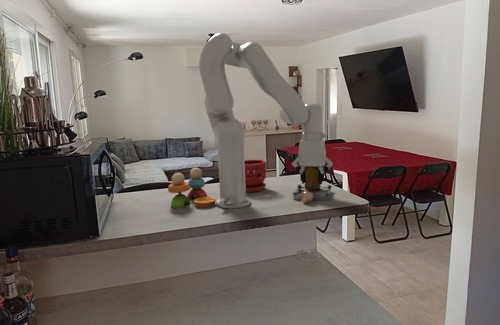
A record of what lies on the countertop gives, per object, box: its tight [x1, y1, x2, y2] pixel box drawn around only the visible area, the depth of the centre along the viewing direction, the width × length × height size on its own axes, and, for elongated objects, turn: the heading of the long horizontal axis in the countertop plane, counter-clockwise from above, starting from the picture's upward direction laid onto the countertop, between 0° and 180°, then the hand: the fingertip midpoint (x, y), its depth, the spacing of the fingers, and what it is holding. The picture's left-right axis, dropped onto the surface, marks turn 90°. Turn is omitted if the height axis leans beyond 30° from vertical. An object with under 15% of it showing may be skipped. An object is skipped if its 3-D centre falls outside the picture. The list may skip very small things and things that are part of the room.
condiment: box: [301, 166, 328, 193], centre depth 147 cm, size 7×8×12 cm
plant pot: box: [244, 159, 267, 193], centre depth 161 cm, size 13×13×12 cm
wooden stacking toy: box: [168, 167, 217, 210], centre depth 145 cm, size 18×17×12 cm
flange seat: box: [292, 184, 332, 205], centre depth 146 cm, size 18×14×4 cm
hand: (312, 182), depth 148 cm, fingers closed on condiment, 6 cm apart
